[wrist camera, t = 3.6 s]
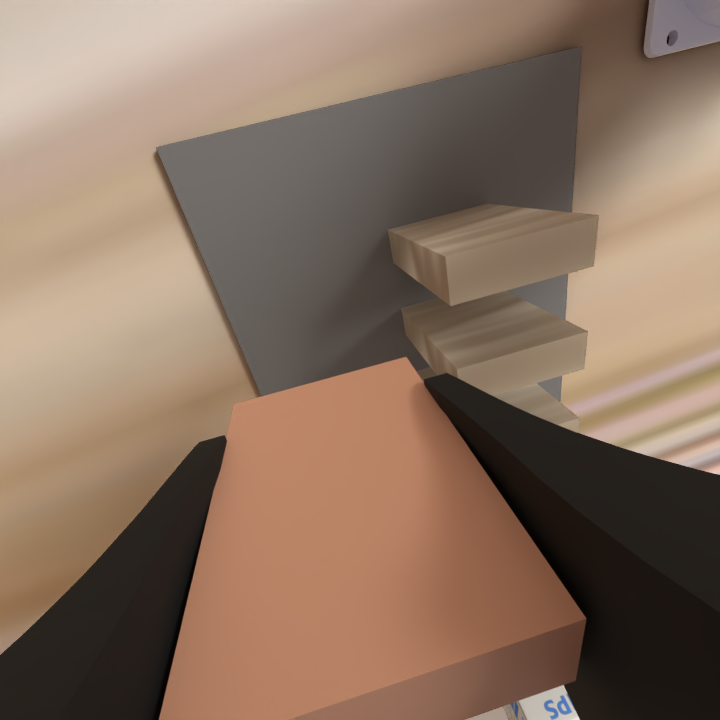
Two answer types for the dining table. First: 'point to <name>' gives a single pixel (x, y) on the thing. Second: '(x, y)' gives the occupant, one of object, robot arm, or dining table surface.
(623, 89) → the dining table surface
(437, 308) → the domino
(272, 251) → the rubber mat
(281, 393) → the domino
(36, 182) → the dining table surface
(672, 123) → the dining table surface
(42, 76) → the dining table surface
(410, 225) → the domino
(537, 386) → the domino
